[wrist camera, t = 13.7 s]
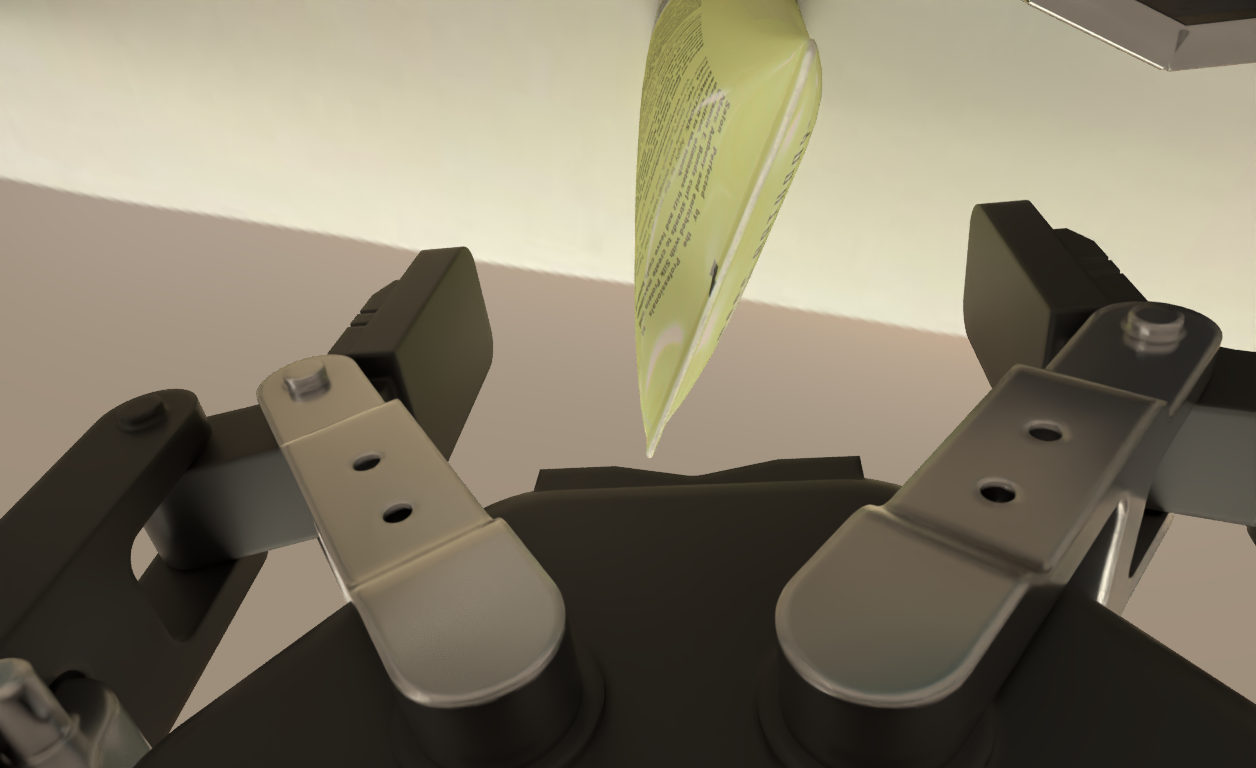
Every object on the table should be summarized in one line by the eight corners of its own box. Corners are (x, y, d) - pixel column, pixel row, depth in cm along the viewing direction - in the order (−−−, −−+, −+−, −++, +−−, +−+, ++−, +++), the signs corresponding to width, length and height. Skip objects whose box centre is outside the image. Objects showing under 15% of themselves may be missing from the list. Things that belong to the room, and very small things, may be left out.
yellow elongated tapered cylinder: (825, 83, 30) (927, 382, 14) (692, 139, 32) (643, 465, 15) (770, -83, 28) (817, 46, 11) (629, -13, 29) (490, 188, 13)
